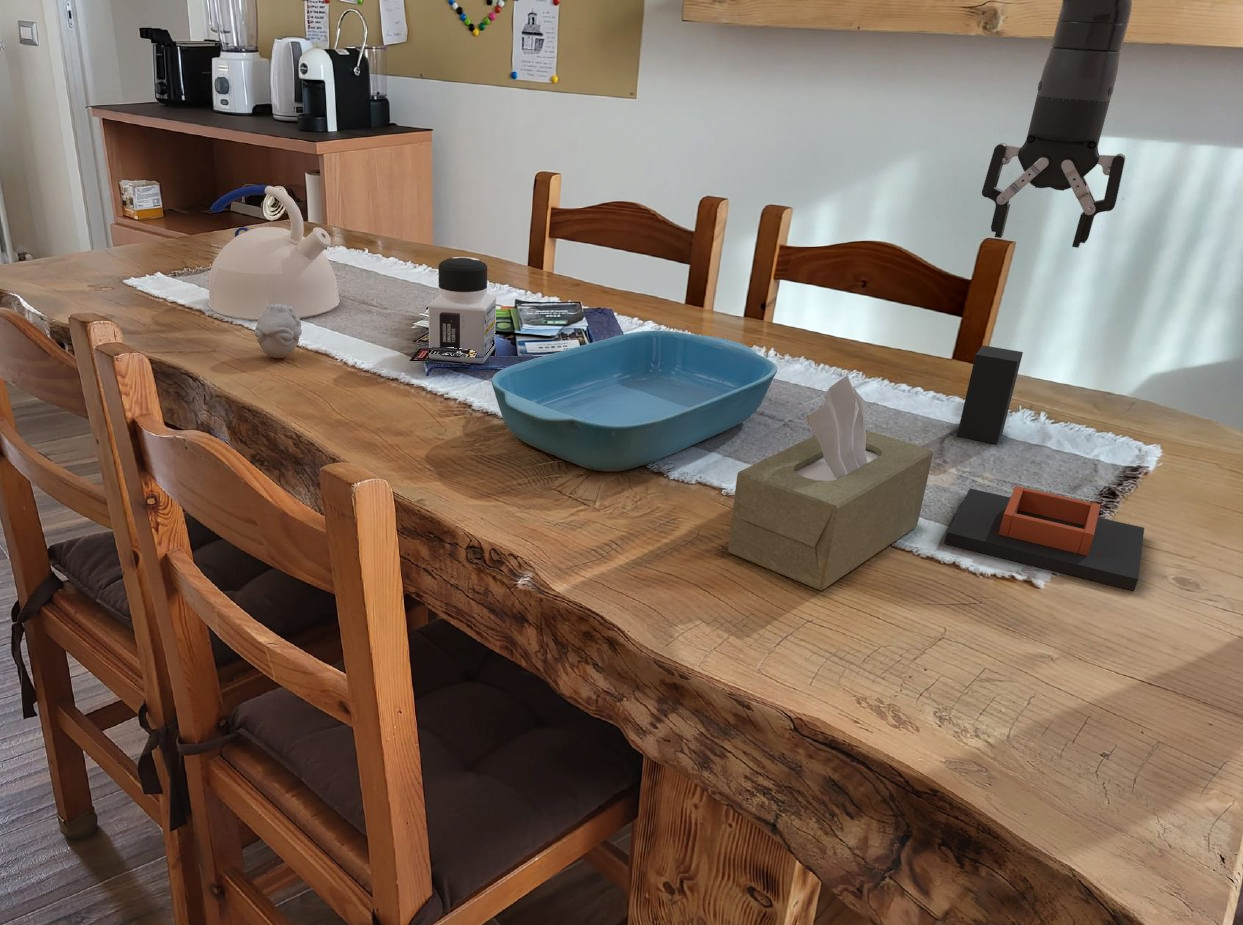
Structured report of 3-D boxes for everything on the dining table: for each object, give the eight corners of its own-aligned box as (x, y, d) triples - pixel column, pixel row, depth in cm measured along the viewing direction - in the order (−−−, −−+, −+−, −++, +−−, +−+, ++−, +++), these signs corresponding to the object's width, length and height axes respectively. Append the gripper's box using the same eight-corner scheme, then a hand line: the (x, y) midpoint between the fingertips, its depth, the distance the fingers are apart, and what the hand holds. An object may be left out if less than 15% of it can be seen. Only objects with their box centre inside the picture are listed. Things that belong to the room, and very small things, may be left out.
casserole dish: (600, 502, 103) (605, 435, 99) (452, 438, 116) (452, 377, 113) (801, 417, 126) (810, 360, 123) (658, 372, 140) (663, 320, 137)
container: (483, 364, 140) (484, 268, 135) (428, 359, 142) (427, 264, 136) (495, 348, 147) (497, 256, 141) (442, 344, 148) (442, 252, 142)
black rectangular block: (1002, 432, 124) (1023, 351, 120) (996, 444, 121) (1017, 361, 116) (963, 424, 126) (982, 345, 122) (956, 436, 123) (975, 354, 118)
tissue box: (828, 494, 106) (855, 344, 99) (919, 526, 100) (953, 369, 93) (724, 553, 94) (745, 387, 87) (819, 593, 88) (851, 418, 81)
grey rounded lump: (312, 351, 143) (308, 301, 140) (289, 366, 137) (286, 314, 134) (271, 347, 144) (267, 297, 141) (247, 361, 138) (242, 310, 135)
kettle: (296, 328, 153) (287, 201, 144) (180, 310, 159) (164, 188, 151) (365, 297, 170) (360, 182, 161) (257, 282, 176) (247, 171, 168)
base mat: (1140, 538, 100) (1151, 506, 98) (1134, 591, 90) (1145, 556, 89) (967, 498, 107) (974, 468, 105) (944, 543, 97) (952, 511, 96)
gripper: (1146, 97, 116) (1104, 245, 123) (1010, 87, 122) (978, 228, 129) (1144, 101, 110) (1100, 255, 117) (1001, 90, 116) (968, 238, 123)
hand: (1036, 241), depth 123 cm, fingers open, 8 cm apart
